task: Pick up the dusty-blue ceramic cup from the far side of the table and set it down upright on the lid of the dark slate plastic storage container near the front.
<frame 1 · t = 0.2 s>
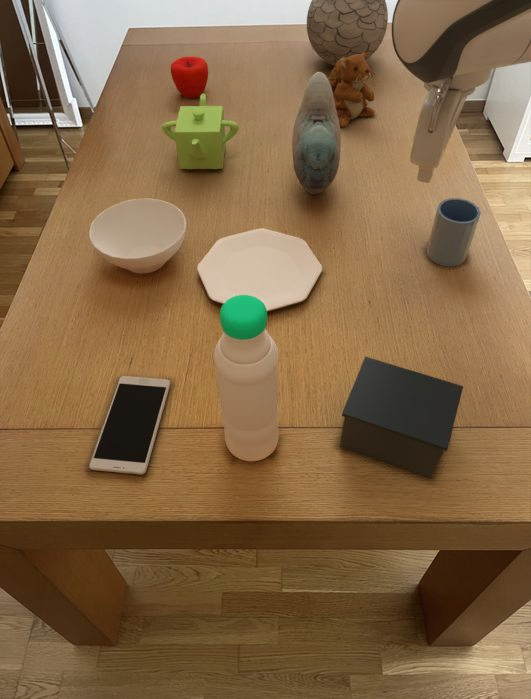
hand: (431, 161, 79), 21 cm above the table, tool pointing down, fingers open, 8 cm apart
container: (393, 434, 75), on the table
plate: (259, 274, 96), on the table
apple: (192, 95, 137), on the table
water bottle: (252, 440, 75), on the table
teapot: (203, 160, 119), on the table
decorative stone: (314, 188, 111), on the table
bowl: (145, 260, 99), on the table
smartphone: (132, 424, 77), on the table
cup: (446, 253, 98), on the table
stuffed squirrel: (343, 112, 131), on the table
decorative sphere: (343, 64, 147), on the table
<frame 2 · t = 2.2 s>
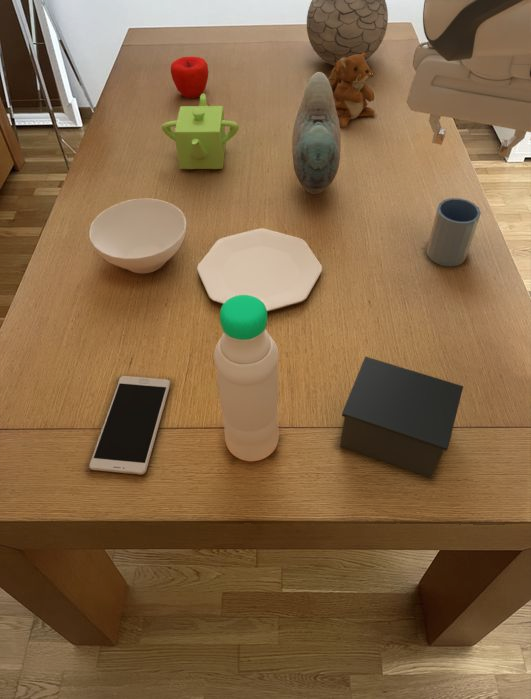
hand: (470, 148, 82), 20 cm above the table, tool pointing down, fingers open, 8 cm apart
nothing on the table moved.
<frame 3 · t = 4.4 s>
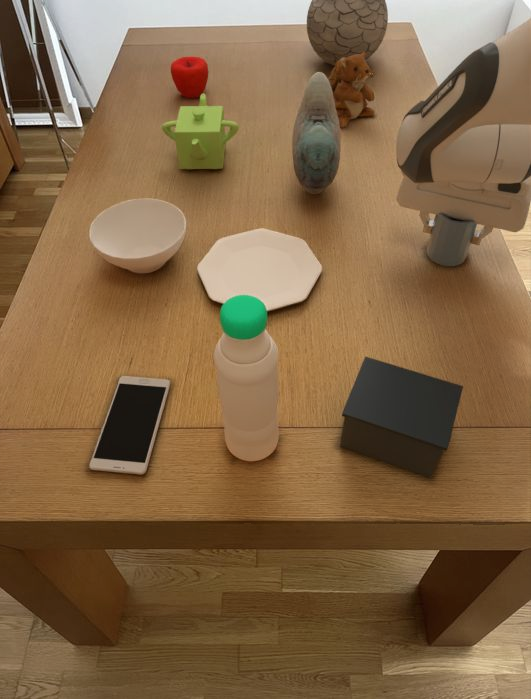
hand: (451, 236, 95), 4 cm above the table, tool pointing down, fingers closed on cup, 7 cm apart
cup: (446, 253, 98), on the table, touching gripper
everything else where it was.
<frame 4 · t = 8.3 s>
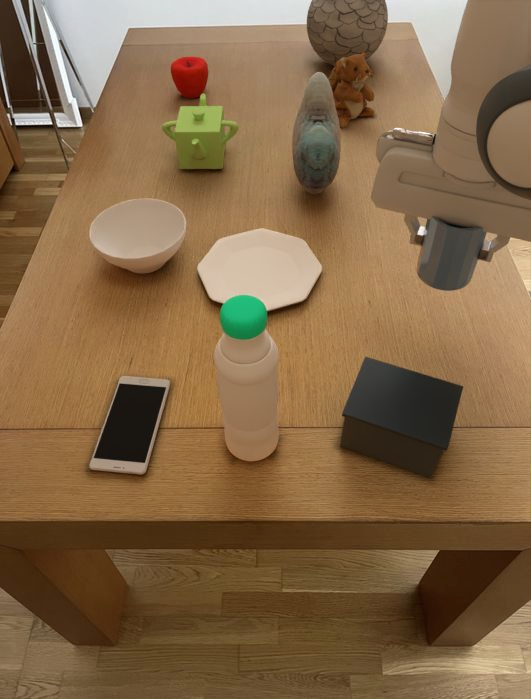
hand: (450, 250, 67), 21 cm above the table, tool pointing down, fingers closed on cup, 7 cm apart
cup: (444, 272, 70), point 17 cm above the table, touching gripper
everything else where it was.
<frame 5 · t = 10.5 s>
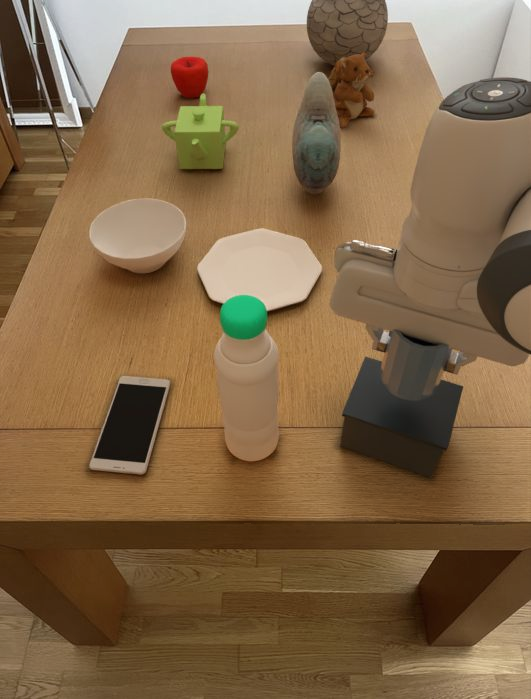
hand: (415, 357, 63), 16 cm above the table, tool pointing down, fingers closed on cup, 7 cm apart
cup: (409, 377, 65), point 12 cm above the table, touching gripper
everything else where it was.
when the fingers open (11 cm above the table, at t = 12.3 s): cup stays where it is, resting on container.
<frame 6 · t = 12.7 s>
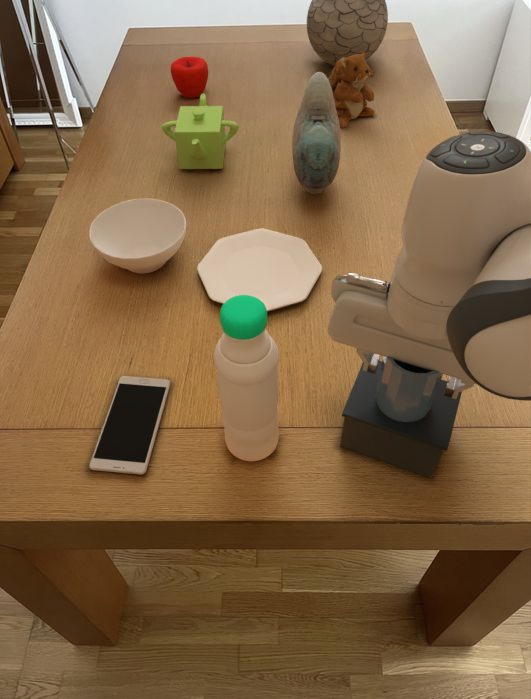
hand: (409, 380, 66), 12 cm above the table, tool pointing down, fingers open, 8 cm apart
cup: (403, 399, 69), point 8 cm above the table, touching container
everything else where it was.
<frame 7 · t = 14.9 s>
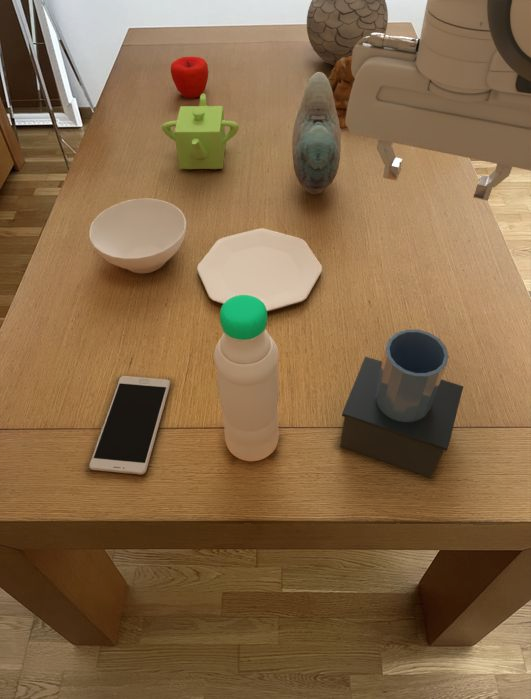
hand: (435, 186, 59), 30 cm above the table, tool pointing down, fingers open, 8 cm apart
nothing on the table moved.
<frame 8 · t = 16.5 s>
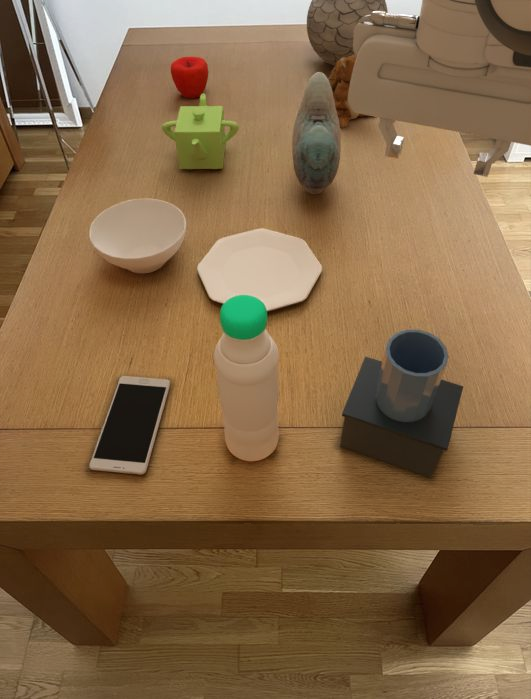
hand: (436, 163, 60), 31 cm above the table, tool pointing down, fingers open, 8 cm apart
nothing on the table moved.
at the end: cup 0.1 cm off-centre on the container, point 8.0 cm above the container's base; cup tilted 0° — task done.
